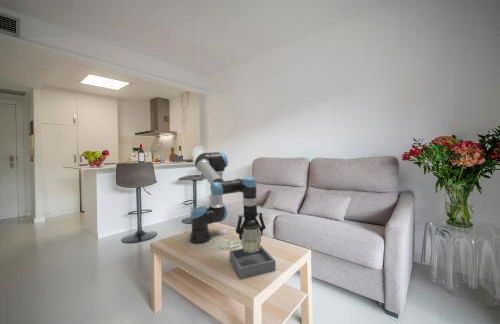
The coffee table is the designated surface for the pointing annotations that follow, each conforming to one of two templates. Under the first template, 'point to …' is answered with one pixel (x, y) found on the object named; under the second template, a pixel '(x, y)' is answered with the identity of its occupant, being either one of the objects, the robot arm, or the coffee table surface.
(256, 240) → the coffee can
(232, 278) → the coffee table surface
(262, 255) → the bin
